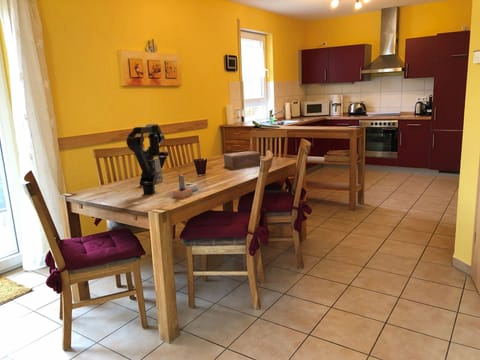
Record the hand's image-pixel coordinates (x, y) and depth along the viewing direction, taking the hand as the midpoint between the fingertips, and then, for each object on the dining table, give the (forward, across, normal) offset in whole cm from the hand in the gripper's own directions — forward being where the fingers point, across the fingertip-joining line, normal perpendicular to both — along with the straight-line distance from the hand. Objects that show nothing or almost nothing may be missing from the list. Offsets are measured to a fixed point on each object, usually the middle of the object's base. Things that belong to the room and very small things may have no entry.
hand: (156, 169), depth 243 cm
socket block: (+12, -1, +23) cm, 26 cm away
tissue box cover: (+14, -88, +12) cm, 90 cm away
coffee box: (+13, -17, -18) cm, 28 cm away
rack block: (+12, +10, +27) cm, 31 cm away
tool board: (+13, +5, +25) cm, 29 cm away
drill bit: (+12, +10, +27) cm, 31 cm away
